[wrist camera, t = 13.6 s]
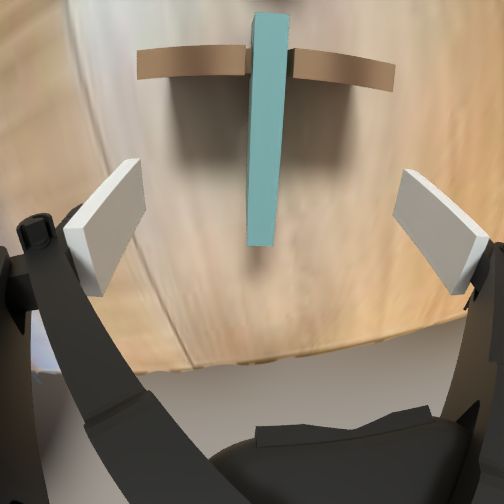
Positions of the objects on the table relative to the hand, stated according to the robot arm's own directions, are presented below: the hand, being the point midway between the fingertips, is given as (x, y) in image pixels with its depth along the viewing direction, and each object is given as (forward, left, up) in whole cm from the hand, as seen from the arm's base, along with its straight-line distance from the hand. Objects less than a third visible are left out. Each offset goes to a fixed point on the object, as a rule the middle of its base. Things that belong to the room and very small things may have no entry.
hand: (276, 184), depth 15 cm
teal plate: (0, 0, -21) cm, 21 cm away
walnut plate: (0, +6, -22) cm, 22 cm away
